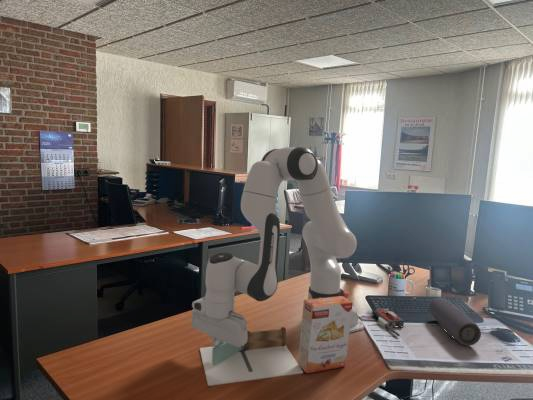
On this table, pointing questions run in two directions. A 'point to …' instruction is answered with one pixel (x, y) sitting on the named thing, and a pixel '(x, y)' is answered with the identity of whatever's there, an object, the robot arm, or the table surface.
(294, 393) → the table surface
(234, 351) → the gate panel
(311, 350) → the cracker box
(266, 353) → the card
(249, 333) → the fence
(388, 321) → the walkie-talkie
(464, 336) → the bluetooth speaker
